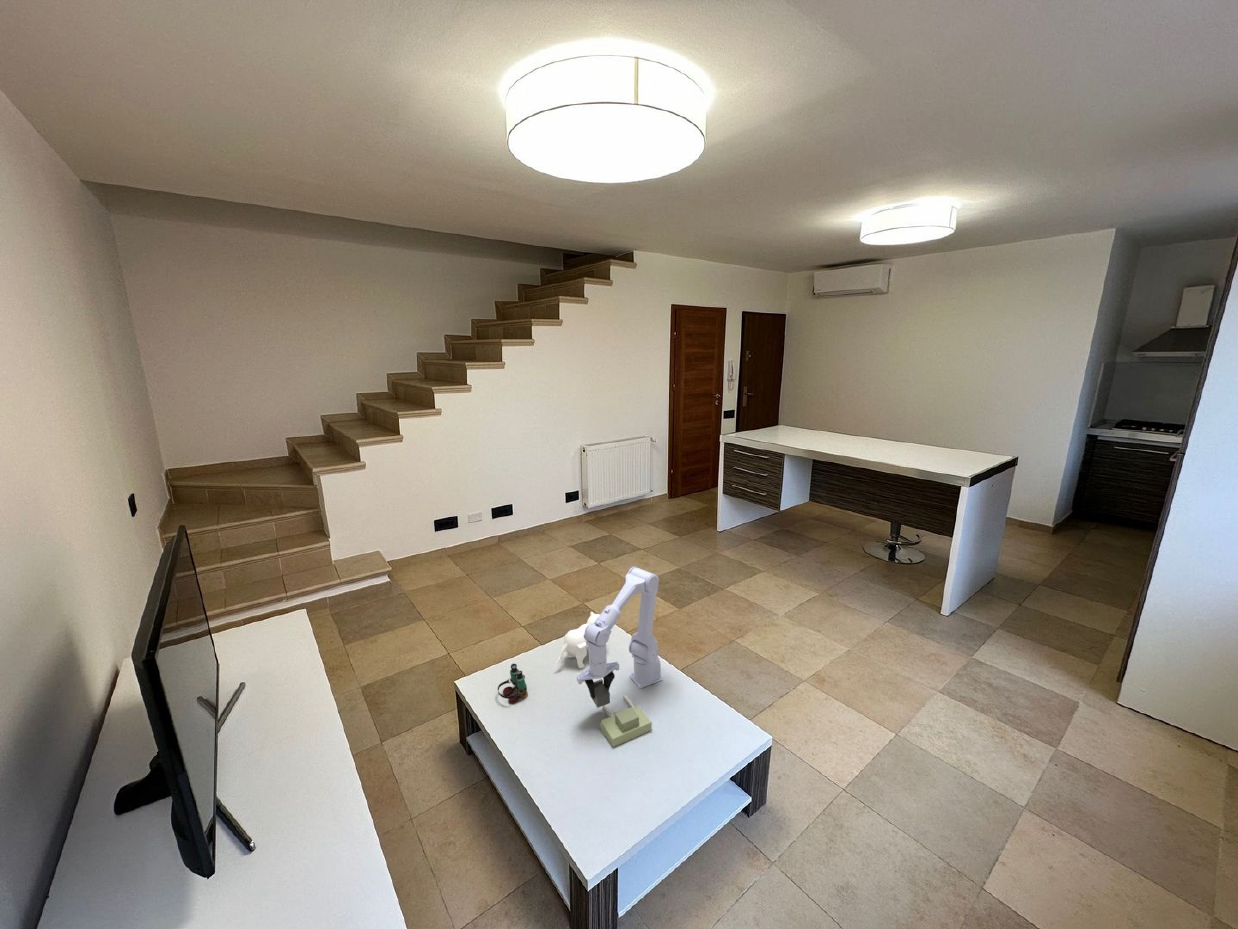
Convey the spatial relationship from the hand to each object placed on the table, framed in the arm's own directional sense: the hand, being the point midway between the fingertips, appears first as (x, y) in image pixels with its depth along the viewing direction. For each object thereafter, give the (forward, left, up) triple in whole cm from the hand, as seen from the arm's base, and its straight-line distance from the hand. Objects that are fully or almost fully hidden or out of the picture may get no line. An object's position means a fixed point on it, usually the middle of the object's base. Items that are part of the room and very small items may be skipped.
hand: (599, 694), depth 162 cm
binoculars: (+23, -23, -9) cm, 34 cm away
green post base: (-5, +6, -8) cm, 11 cm away
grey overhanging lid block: (0, 0, -2) cm, 2 cm away
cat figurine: (-6, -30, -9) cm, 31 cm away
